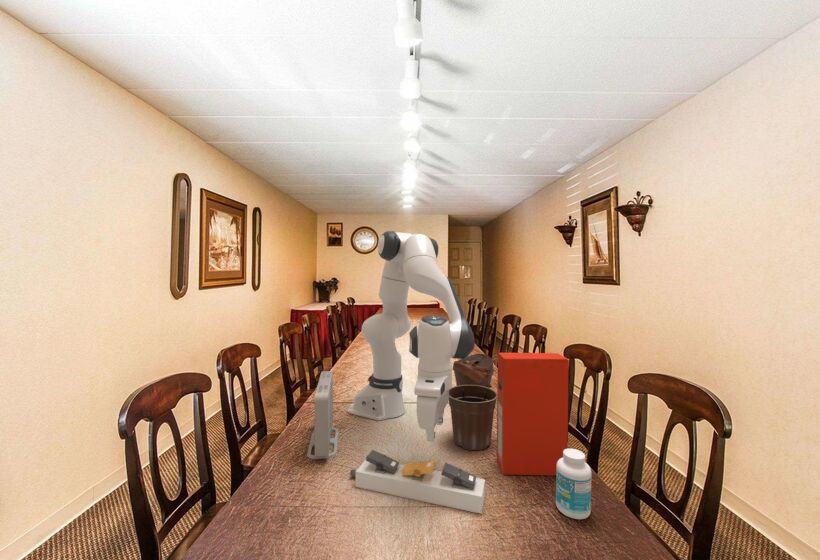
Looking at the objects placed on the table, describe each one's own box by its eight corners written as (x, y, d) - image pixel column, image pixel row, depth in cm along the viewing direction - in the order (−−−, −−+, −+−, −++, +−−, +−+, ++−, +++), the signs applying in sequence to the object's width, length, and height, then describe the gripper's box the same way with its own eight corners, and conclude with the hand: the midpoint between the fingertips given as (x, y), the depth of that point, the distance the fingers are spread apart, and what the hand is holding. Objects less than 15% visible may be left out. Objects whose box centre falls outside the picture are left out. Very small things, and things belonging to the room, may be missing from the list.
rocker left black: (365, 463, 91) (366, 456, 91) (370, 456, 95) (372, 449, 95) (392, 476, 89) (394, 469, 89) (397, 468, 93) (399, 461, 92)
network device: (336, 463, 101) (336, 394, 101) (304, 466, 100) (304, 396, 99) (339, 424, 127) (339, 369, 126) (314, 426, 125) (314, 370, 125)
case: (451, 404, 145) (452, 361, 145) (451, 388, 165) (452, 350, 165) (495, 407, 143) (497, 364, 143) (490, 391, 163) (491, 352, 163)
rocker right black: (440, 477, 85) (442, 469, 85) (443, 469, 89) (445, 462, 88) (472, 492, 83) (474, 484, 83) (474, 483, 86) (476, 475, 86)
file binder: (496, 459, 104) (497, 352, 103) (555, 460, 104) (557, 352, 103) (503, 475, 96) (504, 359, 95) (567, 476, 96) (569, 359, 95)
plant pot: (454, 456, 106) (454, 403, 105) (441, 431, 121) (441, 385, 121) (505, 452, 108) (506, 400, 108) (486, 428, 124) (486, 383, 124)
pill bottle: (549, 500, 86) (550, 445, 85) (578, 498, 86) (580, 444, 86) (566, 522, 78) (567, 462, 78) (597, 520, 79) (599, 461, 78)
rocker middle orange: (403, 478, 88) (401, 470, 88) (407, 470, 92) (405, 462, 92) (433, 475, 86) (431, 467, 86) (436, 468, 89) (434, 460, 89)
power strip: (345, 484, 91) (345, 467, 91) (357, 469, 98) (357, 454, 98) (481, 513, 81) (481, 495, 81) (484, 495, 87) (485, 477, 87)
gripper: (432, 367, 102) (433, 414, 102) (412, 390, 83) (412, 448, 83) (454, 369, 100) (454, 417, 101) (438, 392, 81) (438, 452, 81)
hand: (435, 431), depth 92 cm, fingers open, 8 cm apart
